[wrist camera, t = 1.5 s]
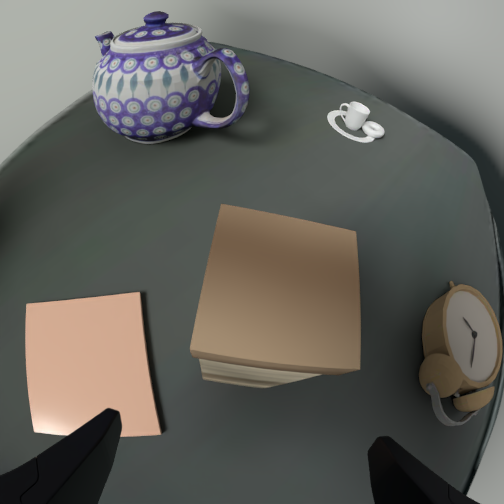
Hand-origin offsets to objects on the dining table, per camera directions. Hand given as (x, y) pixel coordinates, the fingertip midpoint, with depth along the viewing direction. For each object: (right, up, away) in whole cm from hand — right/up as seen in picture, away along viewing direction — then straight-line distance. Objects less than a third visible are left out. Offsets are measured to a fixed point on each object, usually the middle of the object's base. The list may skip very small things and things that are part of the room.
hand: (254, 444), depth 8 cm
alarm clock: (+21, -5, +15) cm, 26 cm away
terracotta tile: (-13, -3, +10) cm, 17 cm away
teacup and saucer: (+16, +22, +30) cm, 41 cm away
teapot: (-12, +23, +25) cm, 36 cm away
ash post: (-1, -2, +13) cm, 13 cm away
